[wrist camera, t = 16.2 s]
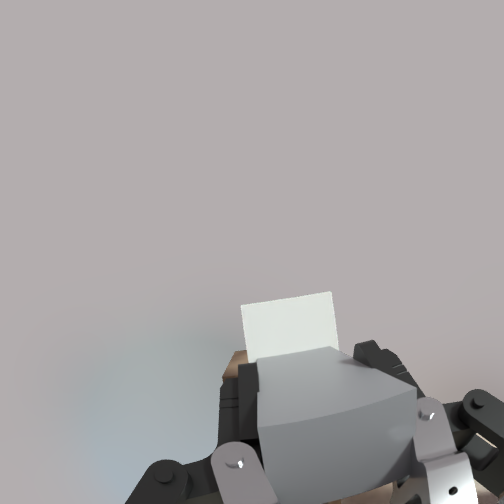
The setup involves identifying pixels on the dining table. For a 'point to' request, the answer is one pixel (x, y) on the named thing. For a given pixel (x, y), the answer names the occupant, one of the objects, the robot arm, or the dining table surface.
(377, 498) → the dining table surface
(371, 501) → the dining table surface
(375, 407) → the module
